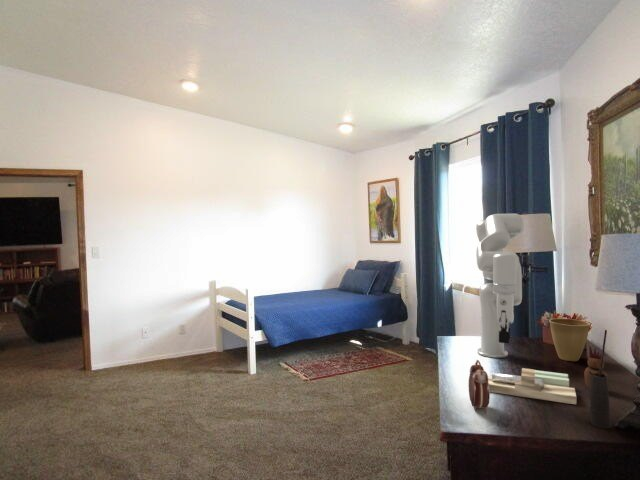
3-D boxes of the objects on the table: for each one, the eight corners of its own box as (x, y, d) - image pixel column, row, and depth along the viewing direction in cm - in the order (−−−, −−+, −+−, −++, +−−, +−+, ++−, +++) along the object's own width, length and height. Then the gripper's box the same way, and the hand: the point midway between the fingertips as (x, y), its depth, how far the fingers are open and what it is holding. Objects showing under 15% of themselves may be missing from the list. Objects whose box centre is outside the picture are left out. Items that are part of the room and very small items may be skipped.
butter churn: (569, 418, 129) (570, 324, 128) (596, 415, 131) (597, 322, 130) (595, 432, 120) (596, 332, 119) (623, 428, 122) (625, 330, 122)
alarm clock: (490, 416, 132) (490, 366, 131) (473, 415, 132) (473, 366, 132) (483, 401, 142) (483, 356, 142) (467, 400, 143) (467, 355, 143)
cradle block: (533, 382, 159) (533, 369, 159) (567, 386, 154) (567, 374, 154) (533, 388, 153) (533, 376, 153) (569, 393, 148) (569, 380, 148)
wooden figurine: (580, 387, 153) (581, 345, 153) (591, 385, 156) (592, 343, 155) (599, 394, 147) (600, 350, 147) (610, 391, 149) (611, 348, 149)
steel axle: (492, 382, 153) (492, 374, 152) (492, 379, 155) (492, 371, 155) (543, 389, 146) (543, 381, 145) (543, 386, 148) (543, 377, 148)
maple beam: (485, 382, 159) (485, 363, 159) (574, 395, 147) (574, 374, 146) (483, 390, 152) (483, 370, 151) (576, 404, 139) (576, 382, 139)
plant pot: (595, 364, 178) (596, 326, 177) (556, 363, 180) (557, 325, 180) (580, 354, 192) (580, 318, 192) (544, 353, 195) (544, 317, 194)
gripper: (515, 293, 142) (515, 348, 143) (517, 286, 157) (517, 336, 158) (490, 291, 145) (490, 345, 146) (495, 285, 160) (495, 334, 161)
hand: (504, 340), depth 152 cm, fingers open, 4 cm apart
